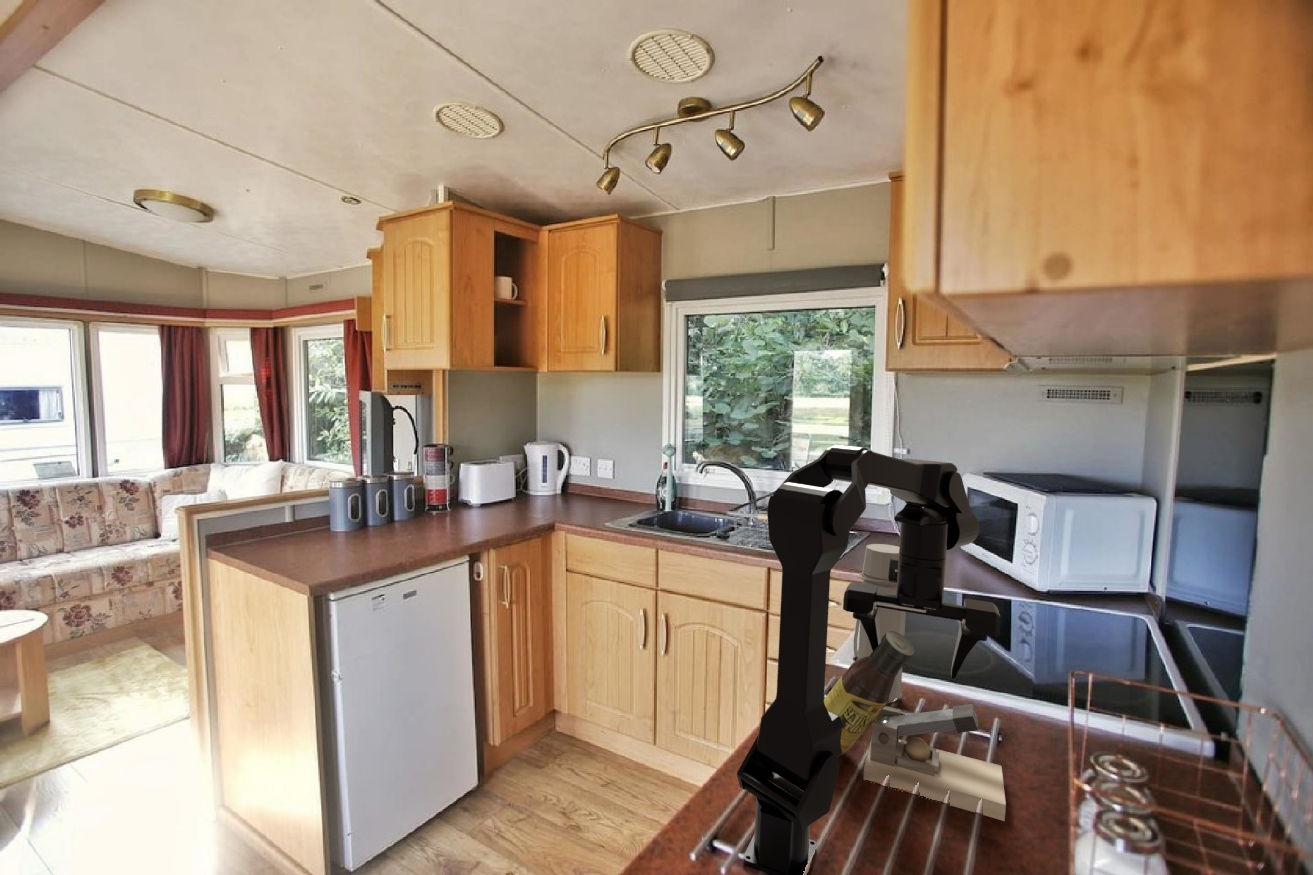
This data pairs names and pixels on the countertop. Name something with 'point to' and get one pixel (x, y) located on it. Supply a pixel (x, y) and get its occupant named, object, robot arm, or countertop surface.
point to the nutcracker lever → (935, 721)
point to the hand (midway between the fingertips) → (914, 669)
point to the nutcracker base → (934, 771)
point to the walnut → (917, 749)
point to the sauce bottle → (867, 686)
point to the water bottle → (888, 618)
